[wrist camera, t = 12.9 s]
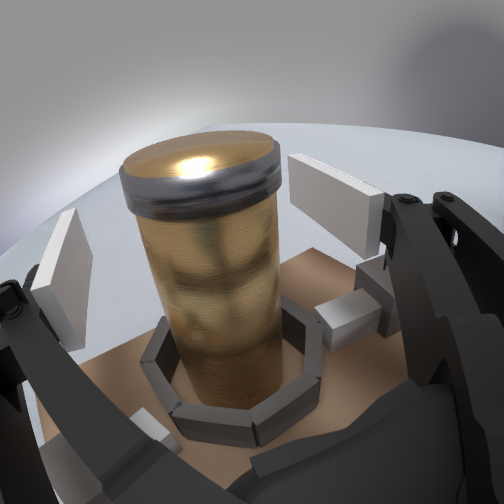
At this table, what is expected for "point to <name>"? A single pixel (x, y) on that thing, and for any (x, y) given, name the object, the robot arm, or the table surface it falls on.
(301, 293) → the base
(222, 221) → the brass cylinder
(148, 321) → the table surface
